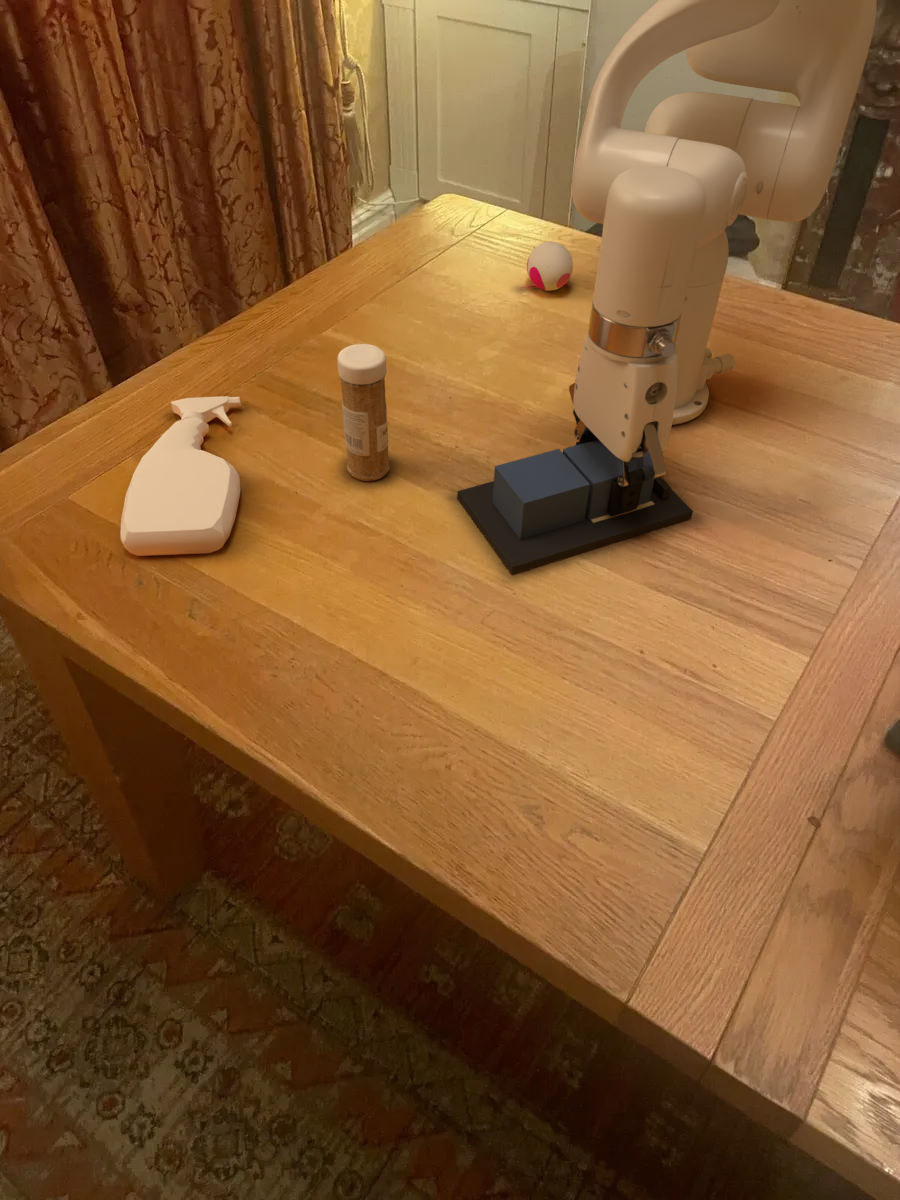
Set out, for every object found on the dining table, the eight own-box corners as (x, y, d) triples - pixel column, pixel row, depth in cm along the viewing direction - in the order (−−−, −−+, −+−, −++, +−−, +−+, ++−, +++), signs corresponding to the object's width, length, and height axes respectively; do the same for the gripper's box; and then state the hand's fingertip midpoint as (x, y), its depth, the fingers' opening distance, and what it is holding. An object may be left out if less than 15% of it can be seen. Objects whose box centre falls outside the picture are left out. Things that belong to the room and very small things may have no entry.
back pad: (617, 468, 94) (623, 431, 90) (649, 502, 90) (657, 465, 86) (558, 485, 91) (562, 448, 88) (588, 520, 88) (594, 483, 84)
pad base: (626, 451, 97) (634, 408, 93) (691, 518, 90) (703, 474, 86) (457, 498, 91) (458, 454, 87) (511, 575, 84) (515, 530, 80)
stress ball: (525, 297, 127) (501, 261, 123) (573, 262, 125) (550, 224, 121) (540, 322, 122) (515, 285, 117) (591, 285, 120) (567, 247, 115)
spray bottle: (116, 560, 84) (157, 412, 101) (235, 555, 85) (255, 409, 102) (108, 535, 82) (151, 389, 99) (230, 531, 83) (251, 386, 100)
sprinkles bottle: (398, 473, 94) (394, 358, 84) (360, 488, 92) (351, 372, 82) (376, 450, 97) (370, 336, 87) (338, 464, 95) (328, 350, 85)
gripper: (730, 366, 73) (684, 534, 86) (617, 275, 84) (591, 436, 97) (652, 386, 71) (617, 555, 84) (546, 289, 82) (530, 452, 95)
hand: (604, 489), depth 90 cm, fingers closed on back pad, 6 cm apart
